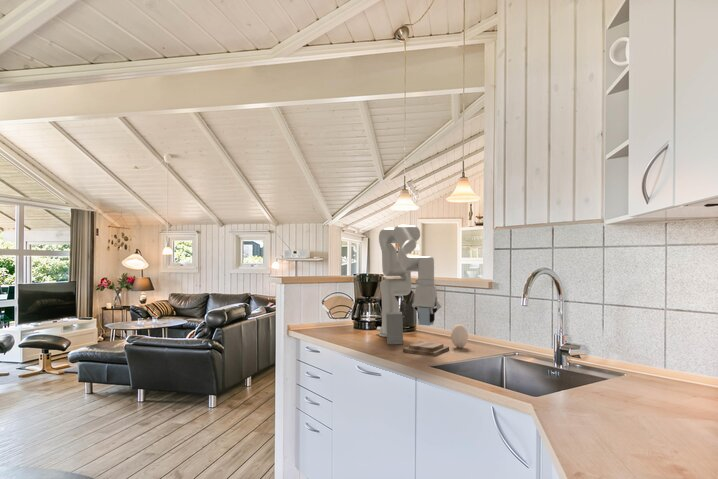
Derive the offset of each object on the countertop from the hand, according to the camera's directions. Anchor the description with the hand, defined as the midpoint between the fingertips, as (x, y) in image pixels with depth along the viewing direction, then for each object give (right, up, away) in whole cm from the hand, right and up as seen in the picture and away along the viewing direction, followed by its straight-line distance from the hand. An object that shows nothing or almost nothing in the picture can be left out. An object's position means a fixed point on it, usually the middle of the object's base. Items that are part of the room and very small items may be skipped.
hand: (426, 321), depth 207 cm
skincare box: (-13, -15, +17) cm, 26 cm away
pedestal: (0, -14, 0) cm, 14 cm away
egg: (+17, -14, +7) cm, 24 cm away
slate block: (0, -2, 0) cm, 2 cm away
